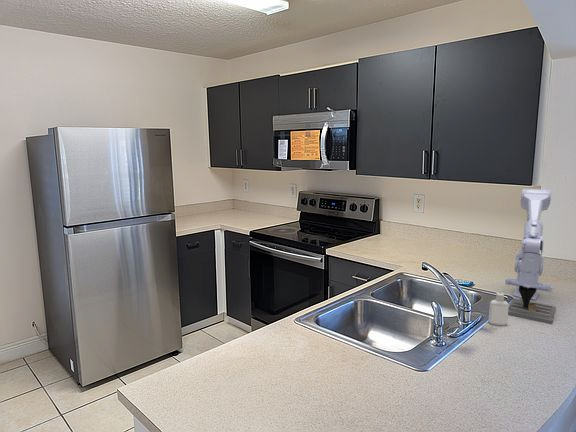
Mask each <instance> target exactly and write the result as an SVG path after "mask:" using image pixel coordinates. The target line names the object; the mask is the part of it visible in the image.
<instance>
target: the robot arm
mask: <svg viewBox="0 0 576 432" xmlns="http://www.w3.org/2000/svg"><path fill="white" fill-rule="evenodd" d="M520 197H521V198H520V206H521V209H522V210H525V211H526V214H527V219H526V222H525V223H524V229H523V238H522V239H521V248H520V251H519V252H517V253H515V260H514V272H515V273H516V274H517V275H516V276H517V277H516V279H514V278H508V277H505V280H504V281H505V282H504V285H506V286H510V285H511V286H514V287H516V288H515V291H514V292H513V297H518V298H519V297H520V295H521V297H522V300H523V307H524V308H528V306H529V302H530V301H531V300H535V301H536V300H537V298H538V295H539V292H537V291H544V292H548V293H550V294H551V293H552V292H553V285H549V284H545V283H541V282H539V276H541V275H543V271H544V257H543V255H542V254H543V252H544V236H543V228H544V225H543V223H542V222H540V220H541V214H542V212H544V211H547V210H548V209H549V207H550V205H551V200H552V199H551V198H552V190H551V189H539V188H538V189H536V188H534V189H533V188H525V187H524V188H522V190H521V196H520Z"/></svg>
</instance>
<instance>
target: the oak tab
mask: <svg viewBox="0 0 576 432" xmlns="http://www.w3.org/2000/svg"><path fill="white" fill-rule="evenodd" d="M529 310H530V311H536V304H534V303H532V304H531V303H530V304H529Z"/></svg>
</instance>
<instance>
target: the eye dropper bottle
mask: <svg viewBox="0 0 576 432" xmlns="http://www.w3.org/2000/svg"><path fill="white" fill-rule="evenodd" d="M502 290H503V289H499V290H498V292H496V293H495V299H492V300H491V301H490V302H489V309H488V323H489V324H490V325H493V326H494V325H495V326H507V325H508V317H509V315H508V308H509V306H510V304H509V303H508V302H507V301H506V300H505V294H504V293H503V291H502Z"/></svg>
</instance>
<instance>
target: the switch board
mask: <svg viewBox="0 0 576 432" xmlns="http://www.w3.org/2000/svg"><path fill="white" fill-rule="evenodd" d="M530 303H531V304H532V303H534V304H536V311H530V310H529V306H528V308H524V307H523V303H522V302H519V298H513V299H512V300H511V302H510V304H509V308H508V316H512V317H517V318H521V319H526V320H529V321H530V320H531V321H535V322H539V323H540V322H541V323H545V324H550V325H553V322H554V317H555V313H556V308H557V306H556V305H555V306H554V305H551V304H545V303H543V302H536V301H531V300H530V302H529V304H530Z"/></svg>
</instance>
